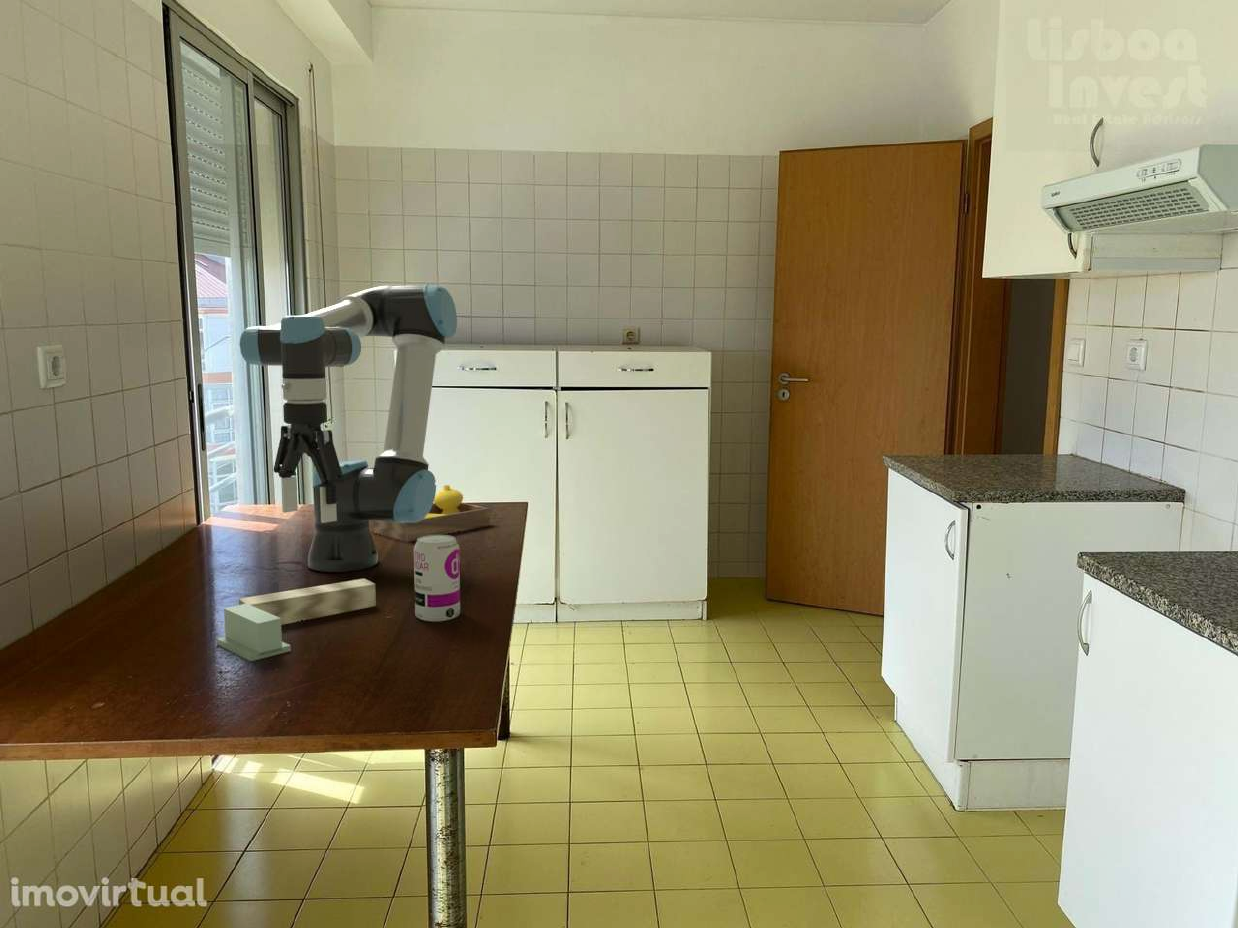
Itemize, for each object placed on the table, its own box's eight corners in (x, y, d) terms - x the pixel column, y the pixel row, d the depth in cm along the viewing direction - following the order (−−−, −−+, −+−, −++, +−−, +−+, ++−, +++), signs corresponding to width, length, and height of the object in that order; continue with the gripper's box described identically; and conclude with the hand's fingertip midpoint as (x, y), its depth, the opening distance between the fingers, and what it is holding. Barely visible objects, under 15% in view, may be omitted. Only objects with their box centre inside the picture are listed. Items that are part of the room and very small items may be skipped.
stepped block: (217, 644, 163) (215, 610, 163) (256, 634, 168) (254, 601, 168) (250, 661, 155) (248, 625, 154) (290, 650, 160) (289, 616, 160)
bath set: (423, 542, 245) (416, 501, 243) (395, 539, 251) (388, 500, 249) (476, 521, 261) (470, 482, 259) (449, 519, 267) (443, 482, 265)
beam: (248, 632, 171) (247, 605, 170) (240, 625, 175) (238, 598, 174) (375, 609, 186) (375, 583, 185) (365, 603, 190) (364, 578, 189)
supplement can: (467, 613, 182) (466, 535, 180) (446, 626, 175) (444, 545, 172) (430, 609, 185) (428, 532, 183) (407, 621, 177) (405, 541, 175)
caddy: (371, 536, 248) (370, 513, 247) (452, 521, 267) (452, 500, 266) (407, 546, 237) (406, 522, 236) (489, 530, 256) (489, 508, 255)
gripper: (251, 398, 180) (256, 510, 183) (323, 406, 164) (327, 529, 167) (288, 396, 186) (292, 505, 189) (361, 404, 169) (364, 523, 172)
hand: (309, 516), depth 178 cm, fingers open, 13 cm apart
